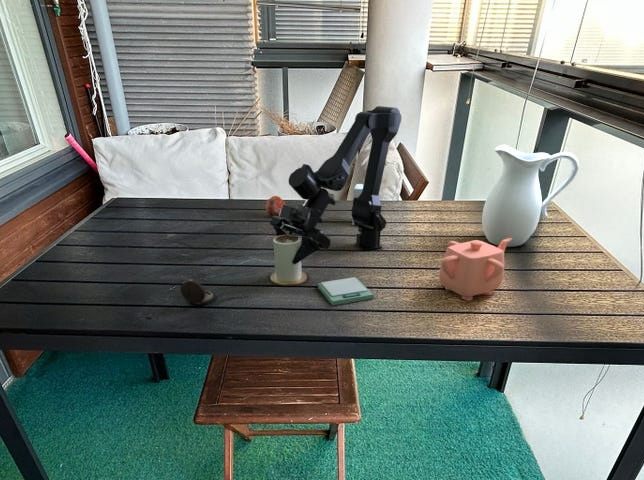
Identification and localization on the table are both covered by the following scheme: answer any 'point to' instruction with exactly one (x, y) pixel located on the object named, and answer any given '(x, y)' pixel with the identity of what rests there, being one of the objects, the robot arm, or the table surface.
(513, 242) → the pitcher
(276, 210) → the pomegranate
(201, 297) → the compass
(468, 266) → the teapot
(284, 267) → the cup
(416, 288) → the table surface
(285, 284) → the coaster
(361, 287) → the scale
